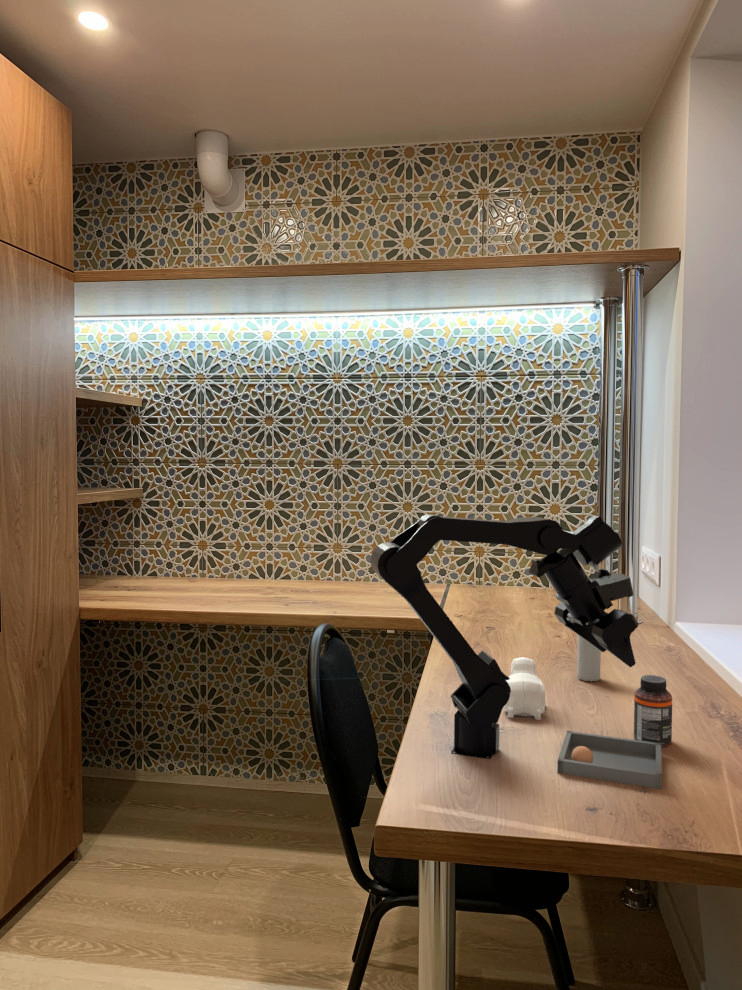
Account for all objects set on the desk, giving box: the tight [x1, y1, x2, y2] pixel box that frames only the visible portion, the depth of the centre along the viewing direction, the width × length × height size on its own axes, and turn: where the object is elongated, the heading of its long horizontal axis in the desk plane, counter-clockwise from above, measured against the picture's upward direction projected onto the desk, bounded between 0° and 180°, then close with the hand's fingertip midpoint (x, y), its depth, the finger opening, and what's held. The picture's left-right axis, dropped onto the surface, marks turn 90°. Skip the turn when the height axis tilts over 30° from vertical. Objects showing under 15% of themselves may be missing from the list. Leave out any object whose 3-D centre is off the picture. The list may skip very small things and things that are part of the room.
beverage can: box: [576, 634, 602, 683], centre depth 157 cm, size 5×5×12 cm
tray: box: [557, 730, 663, 790], centre depth 113 cm, size 15×13×2 cm
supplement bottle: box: [633, 674, 673, 749], centre depth 122 cm, size 6×6×11 cm
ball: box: [572, 746, 593, 763], centre depth 111 cm, size 3×3×3 cm
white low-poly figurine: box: [503, 656, 547, 721], centre depth 139 cm, size 8×8×15 cm
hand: (618, 657), depth 122 cm, fingers open, 9 cm apart
